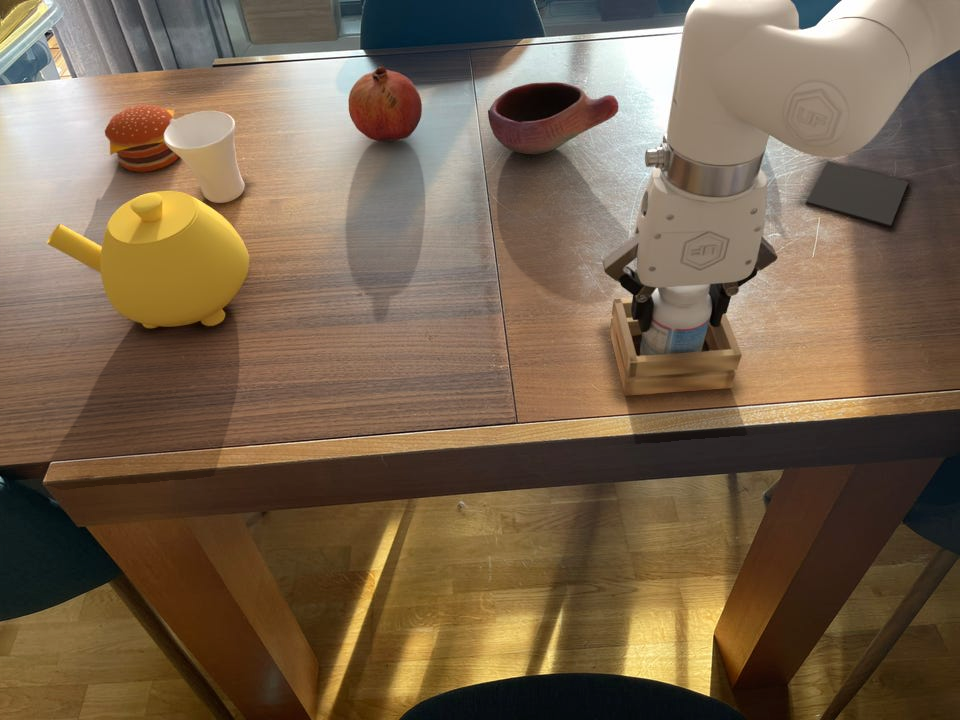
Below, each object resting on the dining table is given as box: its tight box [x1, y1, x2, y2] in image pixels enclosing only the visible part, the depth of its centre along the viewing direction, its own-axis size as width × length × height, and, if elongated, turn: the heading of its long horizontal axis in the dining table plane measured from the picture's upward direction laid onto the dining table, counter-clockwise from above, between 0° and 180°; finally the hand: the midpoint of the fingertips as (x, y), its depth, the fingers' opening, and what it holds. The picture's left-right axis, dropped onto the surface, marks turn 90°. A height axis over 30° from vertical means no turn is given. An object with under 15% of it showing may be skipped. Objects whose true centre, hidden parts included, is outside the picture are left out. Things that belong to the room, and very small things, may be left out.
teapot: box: [46, 190, 250, 329], centre depth 81 cm, size 20×16×14 cm
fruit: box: [348, 66, 423, 142], centre depth 103 cm, size 11×10×10 cm
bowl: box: [487, 81, 620, 155], centre depth 101 cm, size 16×13×8 cm
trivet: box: [805, 160, 909, 228], centre depth 93 cm, size 10×10×1 cm
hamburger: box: [104, 104, 180, 173], centre depth 104 cm, size 9×10×7 cm
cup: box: [164, 110, 246, 204], centre depth 96 cm, size 9×9×10 cm
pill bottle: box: [639, 284, 712, 356], centre depth 72 cm, size 6×6×11 cm
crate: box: [609, 296, 743, 397], centre depth 74 cm, size 11×9×5 cm
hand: (676, 318), depth 71 cm, fingers closed on pill bottle, 6 cm apart
